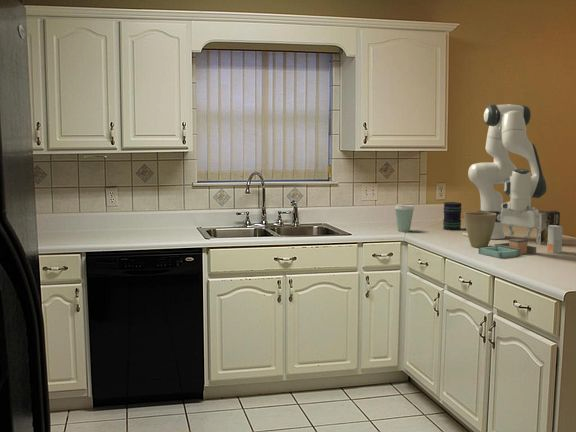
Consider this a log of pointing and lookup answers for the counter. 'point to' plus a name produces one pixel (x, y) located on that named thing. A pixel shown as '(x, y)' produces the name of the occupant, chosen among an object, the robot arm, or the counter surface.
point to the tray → (498, 252)
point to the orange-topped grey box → (519, 244)
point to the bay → (506, 245)
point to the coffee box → (546, 225)
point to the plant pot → (479, 227)
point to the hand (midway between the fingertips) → (519, 236)
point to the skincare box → (554, 239)
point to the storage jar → (452, 216)
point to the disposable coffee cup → (404, 217)
